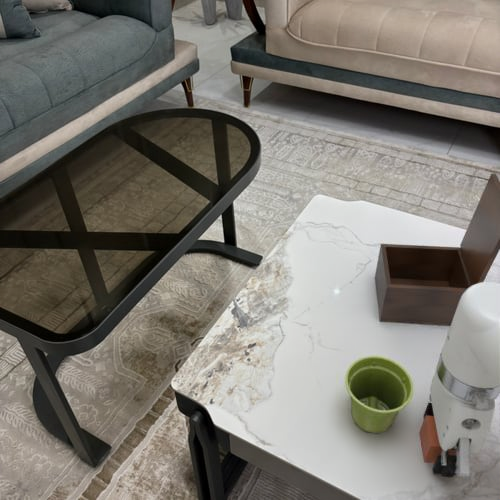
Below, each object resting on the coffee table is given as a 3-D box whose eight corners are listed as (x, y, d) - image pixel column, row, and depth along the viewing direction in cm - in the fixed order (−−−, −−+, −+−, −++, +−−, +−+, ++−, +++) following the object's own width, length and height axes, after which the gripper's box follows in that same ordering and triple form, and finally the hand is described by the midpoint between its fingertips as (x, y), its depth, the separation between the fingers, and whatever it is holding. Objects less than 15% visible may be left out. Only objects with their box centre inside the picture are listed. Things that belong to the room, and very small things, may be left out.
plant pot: (370, 456, 71) (379, 424, 66) (327, 408, 78) (332, 375, 72) (416, 423, 75) (428, 389, 70) (372, 379, 81) (379, 345, 76)
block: (451, 434, 74) (458, 417, 71) (457, 465, 70) (465, 448, 67) (419, 432, 74) (425, 415, 71) (424, 462, 71) (430, 445, 68)
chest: (379, 321, 91) (386, 287, 85) (374, 277, 99) (380, 243, 94) (463, 326, 89) (476, 291, 83) (450, 281, 98) (461, 247, 92)
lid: (511, 215, 73) (543, 219, 73) (491, 173, 82) (519, 176, 82) (474, 289, 83) (502, 293, 83) (459, 245, 92) (485, 248, 92)
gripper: (525, 441, 53) (480, 511, 65) (485, 318, 66) (454, 394, 78) (452, 435, 54) (420, 505, 65) (427, 315, 67) (404, 391, 79)
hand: (439, 444), depth 72 cm, fingers open, 7 cm apart
